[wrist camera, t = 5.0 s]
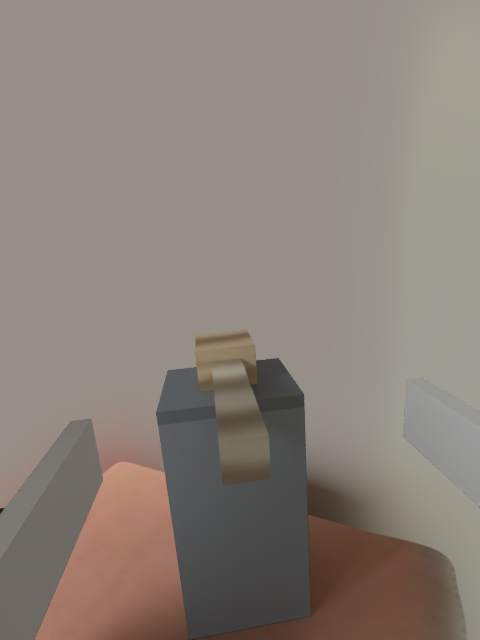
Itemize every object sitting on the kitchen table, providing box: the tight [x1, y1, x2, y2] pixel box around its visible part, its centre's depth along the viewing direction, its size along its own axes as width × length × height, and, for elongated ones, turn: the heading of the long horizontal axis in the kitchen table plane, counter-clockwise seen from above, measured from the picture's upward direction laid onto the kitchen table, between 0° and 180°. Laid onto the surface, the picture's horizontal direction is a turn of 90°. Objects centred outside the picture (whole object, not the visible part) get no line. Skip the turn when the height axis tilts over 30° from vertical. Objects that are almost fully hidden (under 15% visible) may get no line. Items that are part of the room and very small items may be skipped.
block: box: [195, 330, 271, 486], centre depth 33 cm, size 23×7×5 cm, turn 7°
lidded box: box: [156, 358, 311, 640], centre depth 44 cm, size 16×12×32 cm
